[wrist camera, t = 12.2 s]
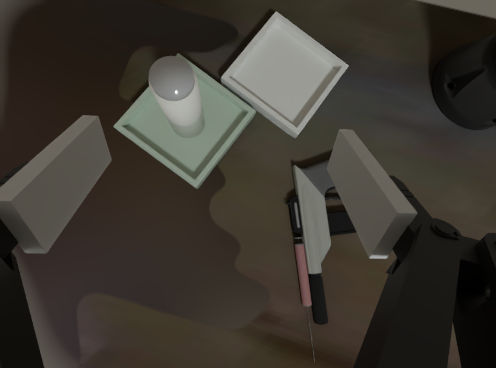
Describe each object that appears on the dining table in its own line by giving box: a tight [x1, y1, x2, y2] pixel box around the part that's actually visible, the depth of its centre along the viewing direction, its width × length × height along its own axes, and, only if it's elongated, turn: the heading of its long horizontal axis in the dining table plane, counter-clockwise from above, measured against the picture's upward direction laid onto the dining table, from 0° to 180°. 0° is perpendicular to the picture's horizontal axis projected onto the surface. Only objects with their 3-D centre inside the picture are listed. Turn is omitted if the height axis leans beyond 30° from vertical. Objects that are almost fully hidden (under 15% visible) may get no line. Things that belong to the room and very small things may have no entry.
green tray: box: [114, 53, 256, 189], centre depth 39 cm, size 15×15×2 cm
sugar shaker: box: [149, 56, 205, 138], centre depth 33 cm, size 5×5×13 cm
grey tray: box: [221, 12, 349, 139], centre depth 42 cm, size 15×15×2 cm
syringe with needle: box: [285, 149, 370, 362], centre depth 40 cm, size 31×2×15 cm
